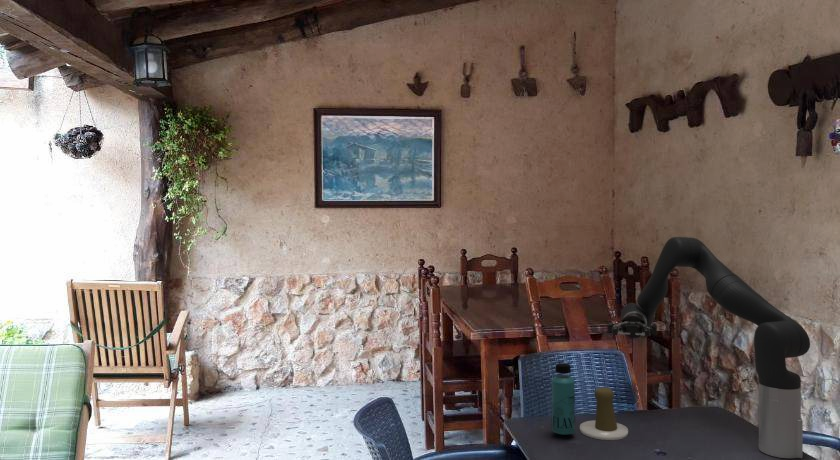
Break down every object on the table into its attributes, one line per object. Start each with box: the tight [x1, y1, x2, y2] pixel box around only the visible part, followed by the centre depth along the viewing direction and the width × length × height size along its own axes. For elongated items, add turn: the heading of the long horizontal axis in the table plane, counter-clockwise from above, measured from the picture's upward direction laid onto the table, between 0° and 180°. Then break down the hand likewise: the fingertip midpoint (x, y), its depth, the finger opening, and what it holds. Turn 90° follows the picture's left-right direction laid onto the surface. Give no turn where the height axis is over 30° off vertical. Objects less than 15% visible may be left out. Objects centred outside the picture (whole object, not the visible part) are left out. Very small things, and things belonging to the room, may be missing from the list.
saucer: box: [579, 419, 629, 441], centre depth 171 cm, size 13×13×1 cm
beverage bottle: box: [550, 362, 576, 435], centre depth 168 cm, size 6×7×20 cm
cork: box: [594, 387, 618, 431], centre depth 171 cm, size 6×6×11 cm
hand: (630, 332), depth 179 cm, fingers open, 8 cm apart
